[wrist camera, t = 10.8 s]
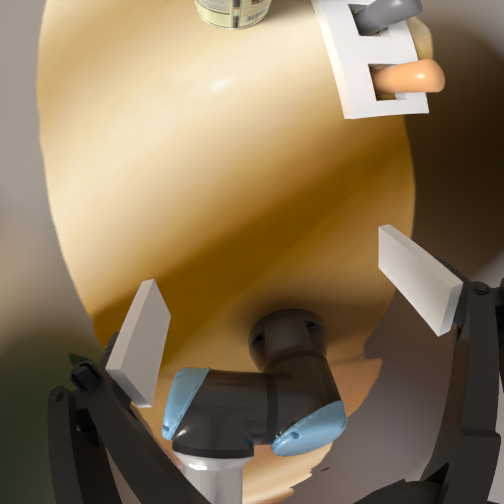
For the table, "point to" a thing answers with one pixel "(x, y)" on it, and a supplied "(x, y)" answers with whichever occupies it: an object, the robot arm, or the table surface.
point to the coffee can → (232, 12)
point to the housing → (365, 59)
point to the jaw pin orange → (408, 78)
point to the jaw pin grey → (384, 14)
